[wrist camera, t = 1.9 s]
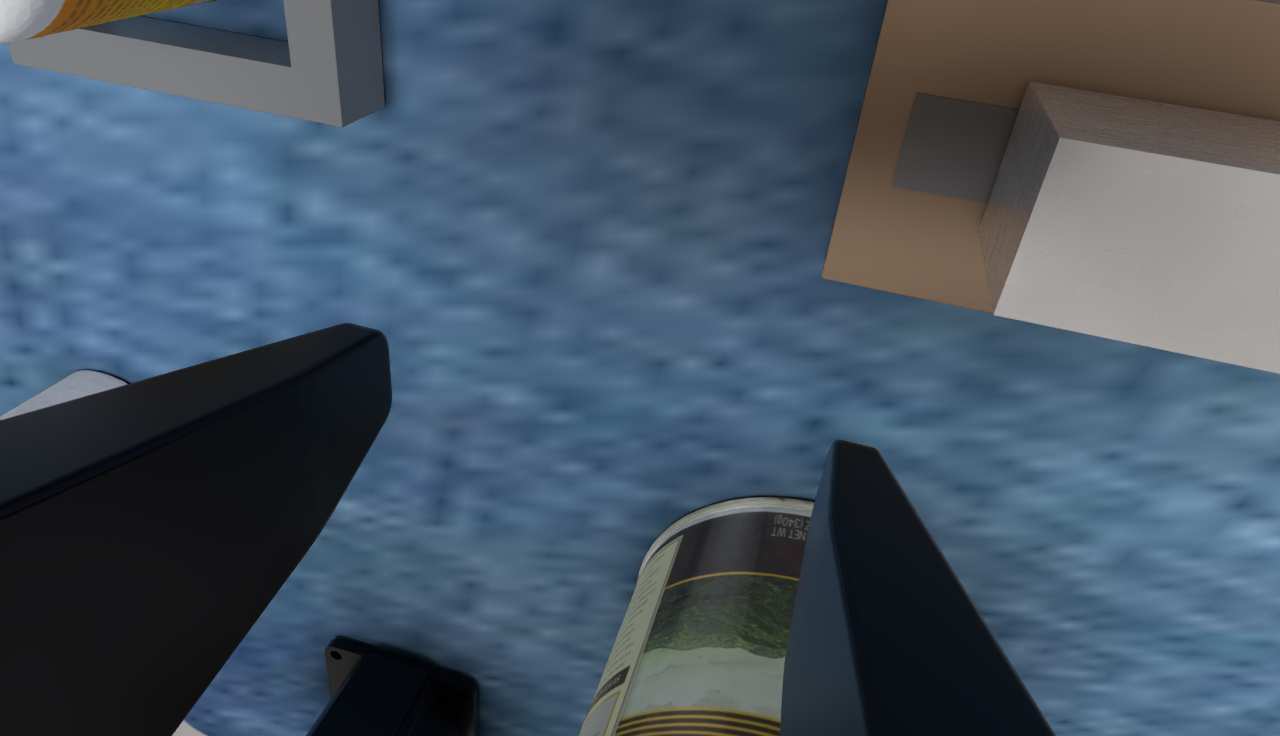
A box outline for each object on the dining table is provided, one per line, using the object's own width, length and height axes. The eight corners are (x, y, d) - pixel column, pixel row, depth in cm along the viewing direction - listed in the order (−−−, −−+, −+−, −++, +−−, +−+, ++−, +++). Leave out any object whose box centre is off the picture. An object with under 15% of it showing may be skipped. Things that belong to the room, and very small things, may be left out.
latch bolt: (1226, 278, 17) (1301, 378, 14) (977, 231, 18) (993, 315, 15) (1308, 125, 16) (1415, 197, 12) (1029, 81, 16) (1060, 137, 13)
